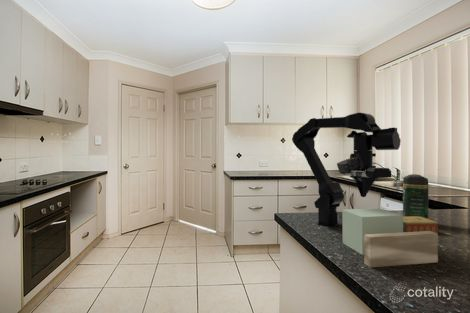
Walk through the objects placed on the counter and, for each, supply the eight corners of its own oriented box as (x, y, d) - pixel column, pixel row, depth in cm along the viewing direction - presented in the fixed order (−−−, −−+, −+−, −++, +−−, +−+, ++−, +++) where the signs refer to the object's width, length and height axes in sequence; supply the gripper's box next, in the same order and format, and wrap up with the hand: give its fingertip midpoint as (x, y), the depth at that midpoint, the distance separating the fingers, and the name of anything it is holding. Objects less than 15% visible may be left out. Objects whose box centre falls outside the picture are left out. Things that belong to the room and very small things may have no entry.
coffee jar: (430, 227, 88) (429, 175, 88) (403, 224, 93) (403, 174, 93) (426, 221, 97) (426, 174, 96) (402, 218, 101) (402, 173, 101)
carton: (438, 234, 81) (438, 221, 81) (388, 234, 82) (388, 221, 82) (420, 227, 90) (420, 215, 90) (375, 227, 90) (375, 215, 90)
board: (364, 263, 59) (364, 234, 59) (430, 258, 62) (430, 230, 62) (370, 267, 57) (370, 237, 57) (437, 262, 60) (437, 233, 60)
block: (342, 243, 73) (342, 209, 73) (379, 240, 75) (378, 208, 75) (362, 255, 65) (362, 217, 65) (403, 252, 66) (403, 215, 66)
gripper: (326, 151, 91) (326, 193, 91) (358, 149, 73) (358, 202, 73) (354, 151, 93) (354, 192, 93) (392, 149, 74) (392, 201, 74)
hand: (363, 196), depth 83 cm, fingers closed
